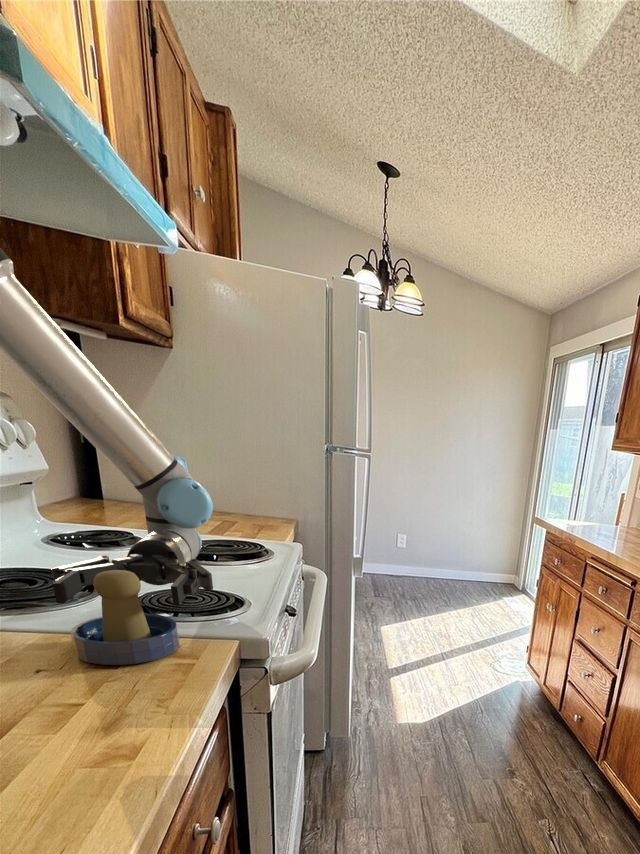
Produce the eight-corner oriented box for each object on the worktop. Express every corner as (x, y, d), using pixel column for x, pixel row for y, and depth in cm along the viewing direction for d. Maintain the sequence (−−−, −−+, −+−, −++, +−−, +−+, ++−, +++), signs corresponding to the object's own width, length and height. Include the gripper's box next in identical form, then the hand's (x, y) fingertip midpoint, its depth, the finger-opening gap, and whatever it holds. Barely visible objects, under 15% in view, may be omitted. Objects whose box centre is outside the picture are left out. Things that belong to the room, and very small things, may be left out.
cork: (93, 649, 77) (75, 571, 72) (134, 637, 82) (120, 563, 78) (125, 659, 75) (109, 580, 71) (164, 646, 80) (152, 571, 76)
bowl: (57, 666, 72) (51, 641, 71) (102, 633, 83) (98, 611, 82) (161, 668, 75) (156, 644, 73) (191, 637, 86) (188, 615, 84)
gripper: (243, 582, 98) (223, 621, 80) (76, 577, 91) (12, 620, 73) (239, 539, 95) (217, 570, 77) (66, 531, 88) (-4, 563, 69)
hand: (117, 594), depth 75 cm, fingers open, 13 cm apart
